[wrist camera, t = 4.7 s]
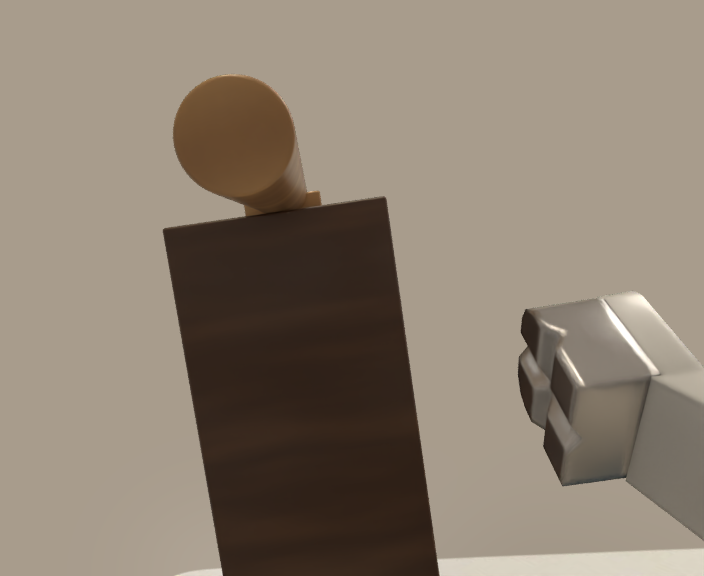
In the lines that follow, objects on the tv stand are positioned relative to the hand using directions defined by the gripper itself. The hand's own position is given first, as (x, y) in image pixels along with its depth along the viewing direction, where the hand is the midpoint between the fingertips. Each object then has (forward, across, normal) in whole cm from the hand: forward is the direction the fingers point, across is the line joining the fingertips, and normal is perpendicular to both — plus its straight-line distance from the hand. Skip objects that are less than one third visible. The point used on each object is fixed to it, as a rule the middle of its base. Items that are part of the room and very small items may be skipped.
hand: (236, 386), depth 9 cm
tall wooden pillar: (+6, 0, +29) cm, 30 cm away
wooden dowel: (+14, 0, +5) cm, 15 cm away
